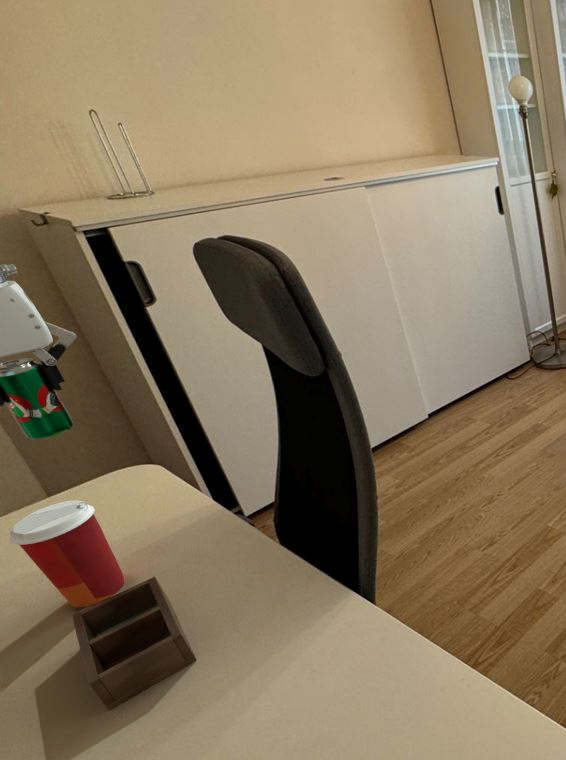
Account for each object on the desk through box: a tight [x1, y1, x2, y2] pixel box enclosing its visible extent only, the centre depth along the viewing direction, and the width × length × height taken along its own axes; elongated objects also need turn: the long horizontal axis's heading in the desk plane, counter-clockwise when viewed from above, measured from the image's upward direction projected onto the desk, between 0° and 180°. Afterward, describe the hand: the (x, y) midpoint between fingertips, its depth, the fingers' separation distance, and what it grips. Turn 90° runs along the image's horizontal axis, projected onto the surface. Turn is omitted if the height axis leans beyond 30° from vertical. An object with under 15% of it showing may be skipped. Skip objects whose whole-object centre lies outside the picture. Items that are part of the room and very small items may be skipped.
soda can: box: [0, 357, 75, 441], centre depth 84 cm, size 5×5×12 cm
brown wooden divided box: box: [71, 576, 197, 711], centre depth 71 cm, size 8×15×5 cm, turn 52°
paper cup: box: [9, 499, 126, 608], centre depth 78 cm, size 8×8×14 cm
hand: (29, 394), depth 84 cm, fingers closed on soda can, 5 cm apart
